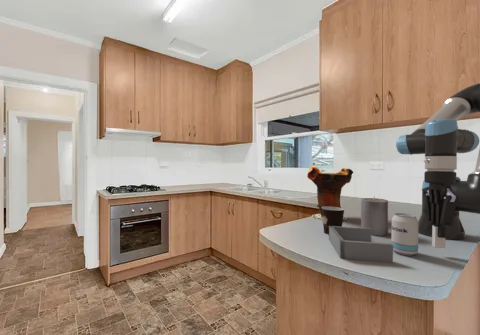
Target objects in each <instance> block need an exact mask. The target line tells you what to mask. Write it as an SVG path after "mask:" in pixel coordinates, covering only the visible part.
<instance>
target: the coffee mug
mask: <svg viewBox="0 0 480 335" xmlns="http://www.w3.org/2000/svg"><path fill="white" fill-rule="evenodd" d="M344 214H345V208H343V207H341V208H339V207H322V210H321V215H322V218H323V220H322V225H323V232H324V234H325V235H329V226H340V227H343V221H344V220H343V216H345V215H344Z"/></svg>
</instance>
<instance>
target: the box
mask: <svg viewBox="0 0 480 335" xmlns="http://www.w3.org/2000/svg"><path fill="white" fill-rule="evenodd" d="M328 241H329V242H330V244H331V245H332V247H333V248H334V250H335V252H336V253H337V255H338V257H339V258H340V259H343V260H344V259H345V260H347V259H348V260H358V261H359V260H360V261H369V262H370V261H371V262H384V263H394V250H393V244H391V243H389V242H376V241H374V242H373V241H372V235H371V228H361V227H355V226H354V227H353V226H342V227H340V226H329V234H328Z"/></svg>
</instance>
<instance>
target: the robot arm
mask: <svg viewBox="0 0 480 335" xmlns="http://www.w3.org/2000/svg"><path fill="white" fill-rule="evenodd" d="M477 113H480V83H476V84H472V85H469V86H467V87H465V88H463V89H461V90H459V91H458V92H456V93H454V94H453V95H452V96H450V97H449V98H447V100H445V101H444V102H443V103H442V104H441V108H439V109H438V110H437V111H436V112H435V113H434V114H432V115H431V116H430V117H429V118H428V119H427V120H426V121H424V122H423V123H422V124H421V125H420V126H418V128H416V129H415V130H414V131H413V132H412V133H411V134H405V135H400V136H399V137H397V139H396V140H395V141H396V142H395V147H396V150H397V152H398V153H399V154H401V155H410V156H413V155H423V154H424V160H423V163H424V169H425V172H424V174H423V176H424V179H423V180H422V185H421V191H422V192H421V215H420V217H419V218H418V234H421V235H425V236H429V237H431V246H432V247H433V248H436V249H446V240H464V239H466V231H465V229H464V226H463V223H462V220H461V219H460V212H464V213H471V214H479V215H480V148H479V150H478V154H477V159H476V164H475V168H474V171H472V172H470V173H469V174H467V179H466V180H461V178H460V177H459V176H457V172H456V171H455V170H457V169H458V168H457V166H458V165H457V164H458V158H457V157H458V156H457V155H458V154H466V153H471V152H473V151H474V150H476V149H477V148H478V146H480V137H479V135H478V134H477V133H476V132H474V131H472V130H469V129H463V128H459V126H458V121H459V120H460V119H463V118H465V117H467V116H468V115H470V114H477Z"/></svg>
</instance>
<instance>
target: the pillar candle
mask: <svg viewBox="0 0 480 335" xmlns="http://www.w3.org/2000/svg"><path fill="white" fill-rule="evenodd" d="M360 228H371V236H378V237H386V236H388V234H389V201H388V200H387V199H385V198H378V197H377V198H376V196H374V197H363V198H361V200H360Z"/></svg>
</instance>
